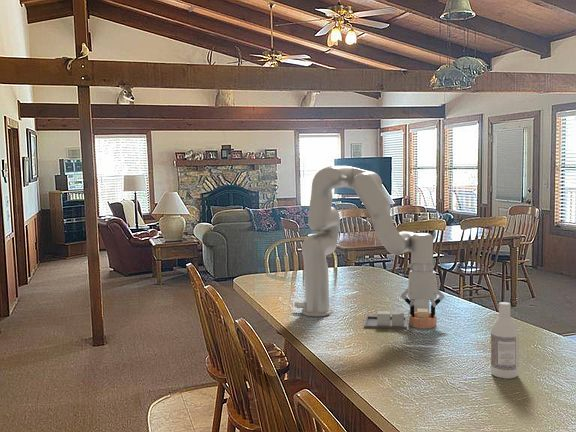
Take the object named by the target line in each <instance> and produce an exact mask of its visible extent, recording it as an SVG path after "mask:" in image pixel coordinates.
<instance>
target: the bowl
mask: <svg viewBox="0 0 576 432" xmlns="http://www.w3.org/2000/svg"><path fill="white" fill-rule="evenodd" d="M437 321H438V320H437V314H435V315H433V317H431V312H429V313H428V318H427V319H421V318H417V312H415V313H414V317H412V314H410V313H409V314H408V322H409V323H408V325H409V326H411V327H412V328H413V327H414V328H417V329H418V328H419V329H430V328H435V327H437V324H438V323H437Z"/></svg>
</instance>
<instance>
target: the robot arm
mask: <svg viewBox="0 0 576 432" xmlns="http://www.w3.org/2000/svg"><path fill="white" fill-rule="evenodd" d="M382 181H383V180H382V178H381V177H380V175H379V174H378V173H376V172H374V171H371V170H366V169H361V168H358V167H354V166H349V165H332V166H327V167H324V168H322V169H320V170H319V171H317V172H316V173H315V175H314V177H313V179H312V181H311V193H310V200H309V210H308V215H307V224H308V227H309V228H310V230H312V231H313V232H316V233H314V234H311V235H308V236H307V237H306V238H305V239H303V242H302V244H301V253H302V258H303V267H304V269H303V272H304V296H305V297H304V300H305V301H302V302H299V301H295V302H294V307H295V308H297V309H301V314H302V315H304V316H306V317H307V316H308V317H315V318H316V317H319V318H320V317H326V316H330V315H332V314H333V313H334V309H333V308H332V307H330V287H329V286H330V284H329V281H330V280H329V264H328V260H327V256H329V255H332V254H334V252H335V250H336V249H337V246H338V240H339V235H340V234H339V232H340V225H341V224H340V223H341V217H340V213H339V211H338V210H337V209H336V208H335V207H333V206H332V204H333V191H332V190H333V189H339V188H348V189H351V190H354V192H355V194H357V197H358V199H359V200H360V201H361V203H362V204H363V206H364V207H365V209H366V210H367V212H368V214H369V216H370V218H371V223H372V226H373V229H374V231H375V235H376V236H377V238H378V239H379V241H380V242H381V244H382V245H383V247H384V248H385V250H386V251H387V252H389V254H390V255H391V254H392V255H395V256H397V255H398V256H399V255H402V254H403V253H407V252H410V253H411V258H410V260H411V261H410V263H408V264H407V269H410V270H409V273H408V282H407V283H408V284H407V288H405V290H404V291H403V292H401V294H400V298H401V299H402V300H403V301H405V303H407V304H408V305H409V312H410V313H409V314H412V317H414V304H413V303H414V301H415V300H429V302H430V303H431V305H430V313H431V317H433V315H436V306H438V304H440V303H441V302H442V301H443V299H445V298H446V297H445V294H444V293H442V292H441V291H440V290H439V289H438V282H437V275H436V273H437V272H436V271H435V270H434V238H433V235H432V234H431V233H429V232H428V233H427V232H411V231H399V230H398V229H397V227H396V225H395V224H394V222H393V220H392V216H391V211H392V210H391V209H392V207H391V202H390V201H389V199H388V198H387V196H386V195H385V193H384V192H383V190H382V189H381V188H382V186H383V182H382ZM407 296H408V297H407ZM410 299H411V300H410Z"/></svg>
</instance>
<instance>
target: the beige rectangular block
mask: <svg viewBox="0 0 576 432" xmlns="http://www.w3.org/2000/svg"><path fill="white" fill-rule="evenodd" d="M417 318H421V319H427V318H428V309H417Z"/></svg>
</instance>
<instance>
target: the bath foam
mask: <svg viewBox="0 0 576 432" xmlns="http://www.w3.org/2000/svg"><path fill="white" fill-rule="evenodd" d="M490 373H491V375H492V376H494V377H497V378H500V379H506V380H508V379H509V380H510V379H514V378H517V377H518V375H519V331H518V327H517V324H516V323H515V321H514V319H513V318H512V316H511V303H510V302H507V301H501V302H498V316H497V318H496V319H495V320H494V322H493V323H492V326H491V330H490Z"/></svg>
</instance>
